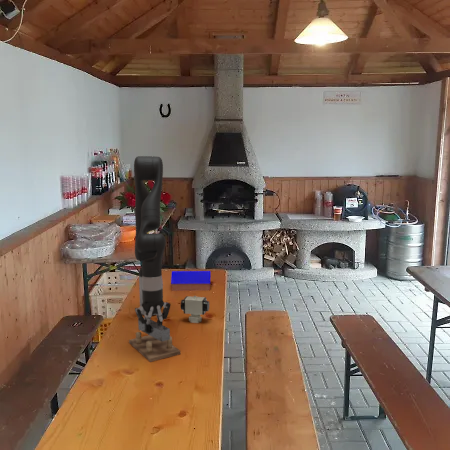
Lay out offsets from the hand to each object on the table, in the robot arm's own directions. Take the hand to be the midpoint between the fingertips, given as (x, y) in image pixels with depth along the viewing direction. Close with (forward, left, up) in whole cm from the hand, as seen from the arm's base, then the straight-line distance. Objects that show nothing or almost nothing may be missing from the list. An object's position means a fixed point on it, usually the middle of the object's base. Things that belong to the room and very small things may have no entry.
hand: (153, 331), depth 178 cm
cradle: (0, 0, -7) cm, 7 cm away
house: (-55, +46, -7) cm, 72 cm away
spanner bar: (0, 0, -1) cm, 1 cm away
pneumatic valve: (-15, +26, -7) cm, 31 cm away
